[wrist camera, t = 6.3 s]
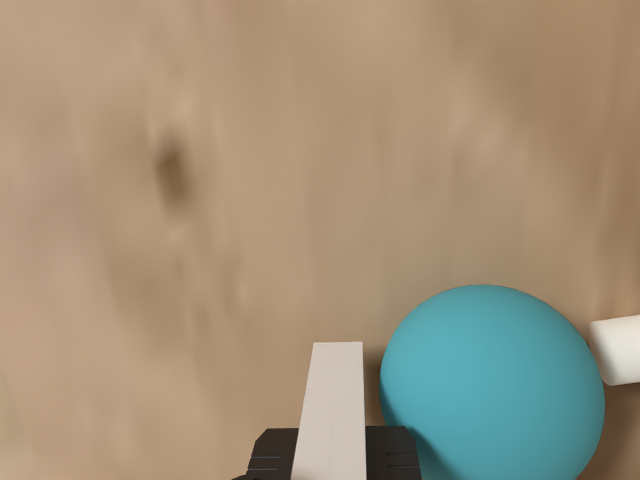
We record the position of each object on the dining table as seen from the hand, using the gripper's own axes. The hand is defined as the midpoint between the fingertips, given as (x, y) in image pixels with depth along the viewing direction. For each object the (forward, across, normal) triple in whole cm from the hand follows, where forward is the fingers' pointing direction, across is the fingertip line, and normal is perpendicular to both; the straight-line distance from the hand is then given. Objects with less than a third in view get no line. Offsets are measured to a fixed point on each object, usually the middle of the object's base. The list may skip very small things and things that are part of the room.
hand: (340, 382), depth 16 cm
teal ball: (-1, +4, 0) cm, 4 cm away
